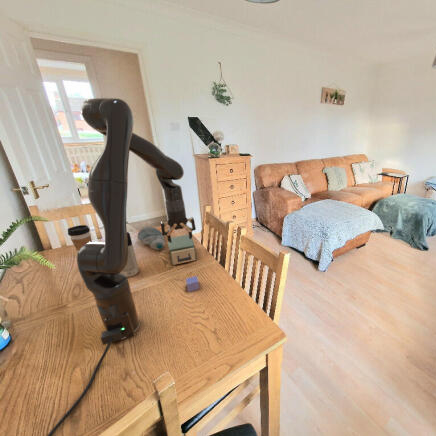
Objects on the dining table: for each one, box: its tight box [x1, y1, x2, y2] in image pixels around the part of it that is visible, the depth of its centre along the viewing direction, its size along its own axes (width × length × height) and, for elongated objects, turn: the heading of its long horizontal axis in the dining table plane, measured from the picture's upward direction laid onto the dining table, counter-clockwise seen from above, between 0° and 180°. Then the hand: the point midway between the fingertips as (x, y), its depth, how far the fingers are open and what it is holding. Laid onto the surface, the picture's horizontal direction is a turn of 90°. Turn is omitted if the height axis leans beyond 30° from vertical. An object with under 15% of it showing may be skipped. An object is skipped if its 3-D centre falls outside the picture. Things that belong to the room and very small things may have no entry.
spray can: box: [120, 231, 140, 278], centre depth 106 cm, size 7×7×20 cm
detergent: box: [137, 226, 166, 251], centre depth 134 cm, size 13×7×25 cm
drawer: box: [171, 247, 197, 266], centre depth 120 cm, size 17×10×7 cm, turn 29°
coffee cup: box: [67, 224, 93, 253], centre depth 121 cm, size 8×8×15 cm
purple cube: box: [185, 275, 200, 293], centre depth 102 cm, size 4×4×4 cm
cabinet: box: [167, 234, 198, 266], centre depth 124 cm, size 14×12×9 cm
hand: (180, 240), depth 112 cm, fingers open, 8 cm apart
